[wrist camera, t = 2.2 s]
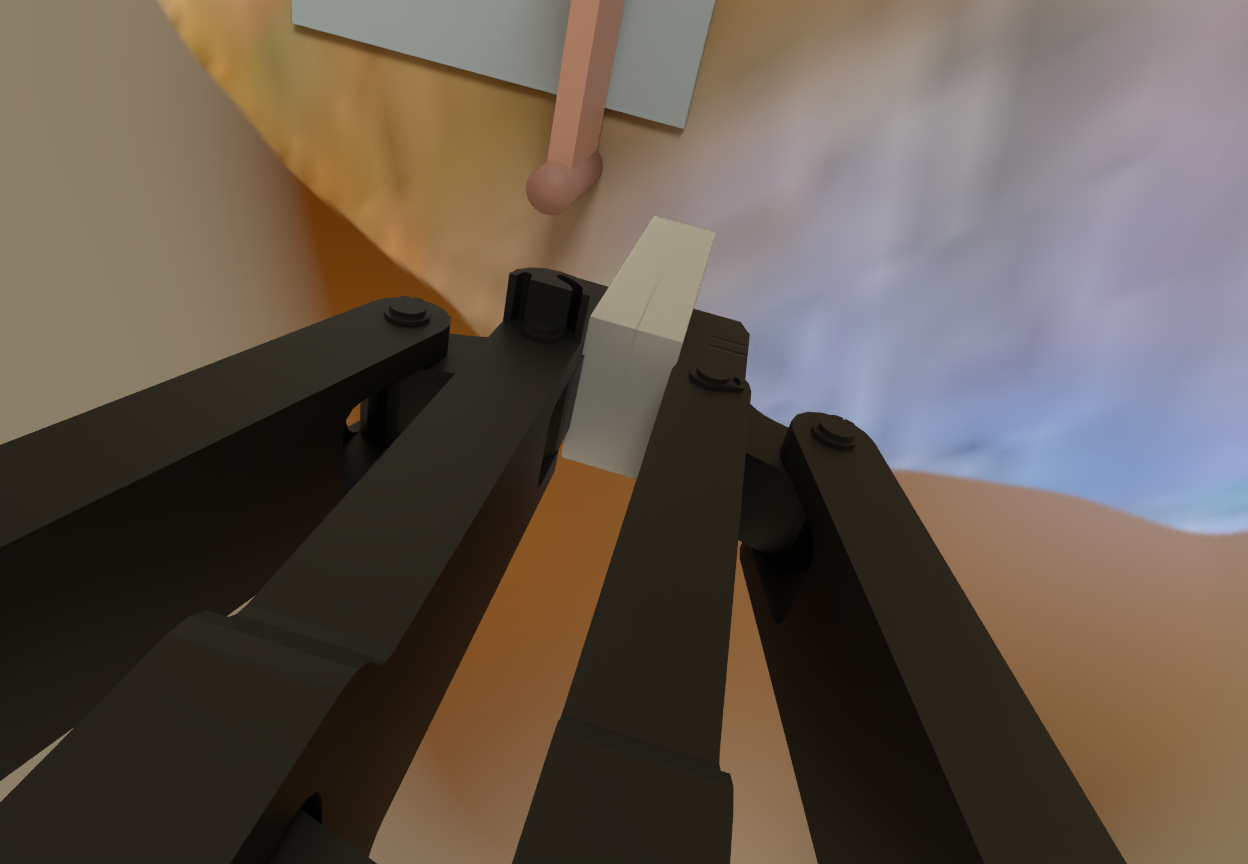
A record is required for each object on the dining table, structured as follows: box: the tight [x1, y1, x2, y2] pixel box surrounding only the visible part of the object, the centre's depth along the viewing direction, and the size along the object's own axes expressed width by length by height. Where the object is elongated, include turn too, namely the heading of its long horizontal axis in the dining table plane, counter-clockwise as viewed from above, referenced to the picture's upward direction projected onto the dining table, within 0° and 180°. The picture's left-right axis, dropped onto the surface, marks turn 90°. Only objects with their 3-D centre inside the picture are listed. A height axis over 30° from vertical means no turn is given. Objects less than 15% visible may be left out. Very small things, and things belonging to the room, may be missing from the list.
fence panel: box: [526, 0, 625, 215], centre depth 27 cm, size 10×2×6 cm, turn 168°
